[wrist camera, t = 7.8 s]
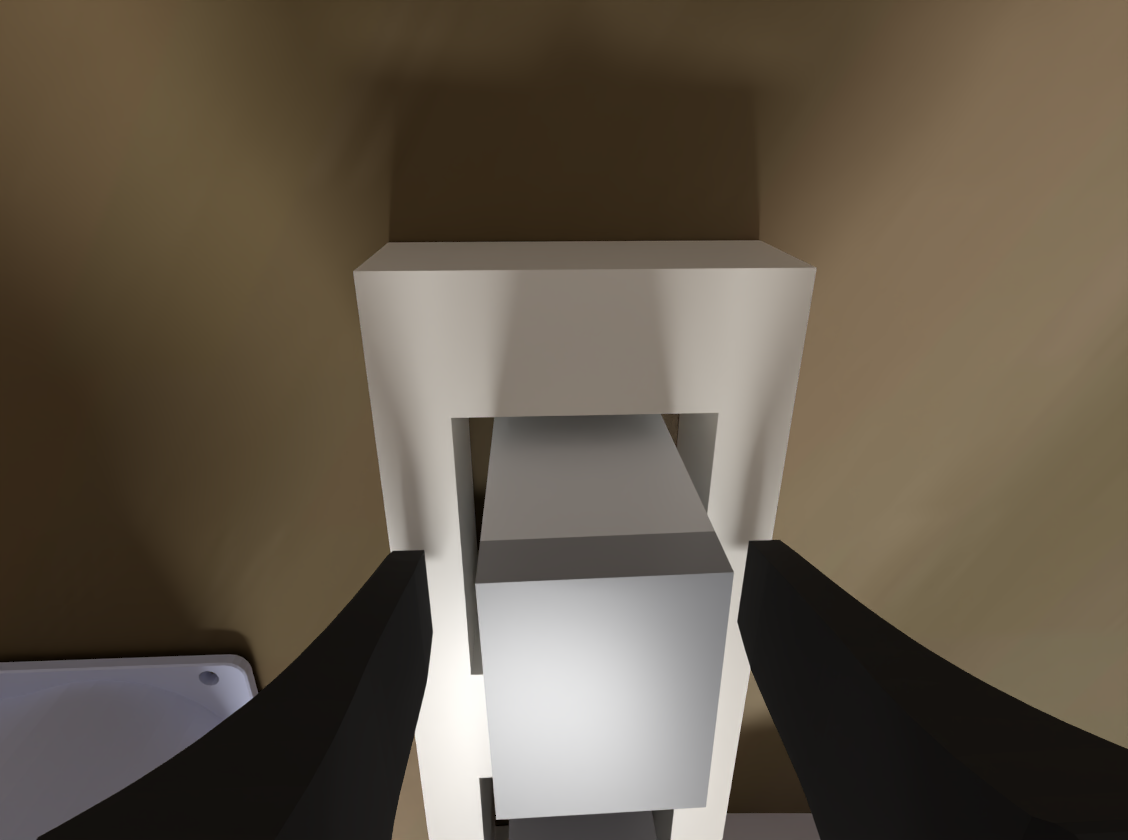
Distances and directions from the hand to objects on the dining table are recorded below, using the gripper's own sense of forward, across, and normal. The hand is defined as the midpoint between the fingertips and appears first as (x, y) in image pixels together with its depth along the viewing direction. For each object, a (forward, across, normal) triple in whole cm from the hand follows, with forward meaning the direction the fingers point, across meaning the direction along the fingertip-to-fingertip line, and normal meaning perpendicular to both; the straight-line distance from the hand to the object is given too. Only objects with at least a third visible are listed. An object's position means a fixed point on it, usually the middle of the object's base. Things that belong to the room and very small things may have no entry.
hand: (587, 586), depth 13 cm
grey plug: (+4, 0, 0) cm, 4 cm away
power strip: (+4, 0, +5) cm, 6 cm away
